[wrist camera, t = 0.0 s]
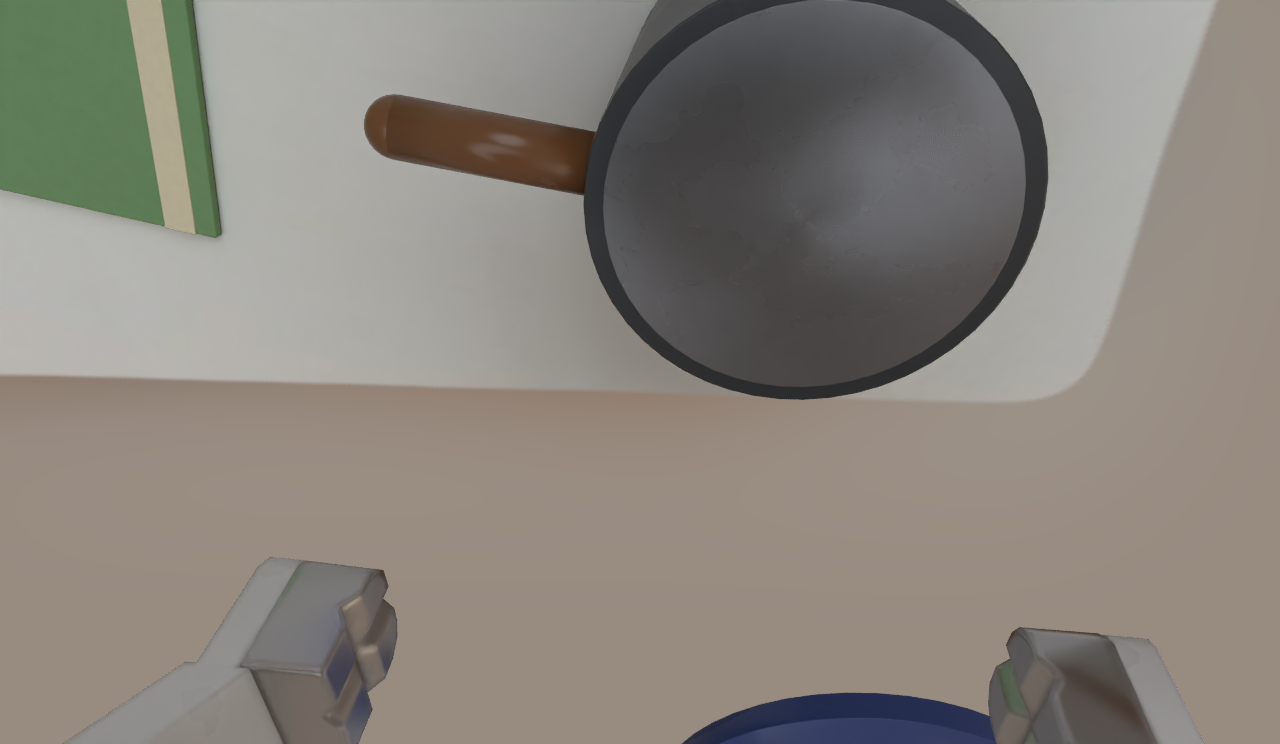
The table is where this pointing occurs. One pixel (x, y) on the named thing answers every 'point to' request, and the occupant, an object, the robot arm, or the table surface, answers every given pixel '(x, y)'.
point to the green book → (107, 109)
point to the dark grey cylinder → (784, 185)
